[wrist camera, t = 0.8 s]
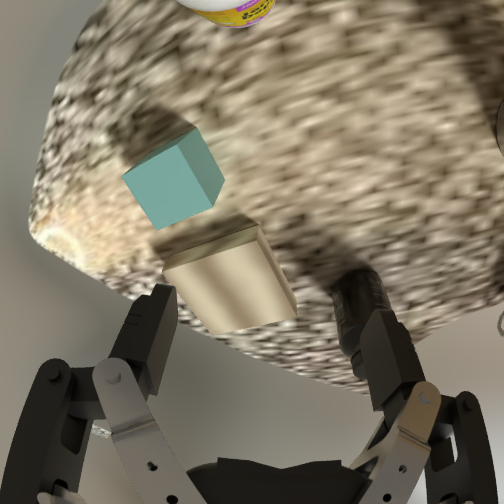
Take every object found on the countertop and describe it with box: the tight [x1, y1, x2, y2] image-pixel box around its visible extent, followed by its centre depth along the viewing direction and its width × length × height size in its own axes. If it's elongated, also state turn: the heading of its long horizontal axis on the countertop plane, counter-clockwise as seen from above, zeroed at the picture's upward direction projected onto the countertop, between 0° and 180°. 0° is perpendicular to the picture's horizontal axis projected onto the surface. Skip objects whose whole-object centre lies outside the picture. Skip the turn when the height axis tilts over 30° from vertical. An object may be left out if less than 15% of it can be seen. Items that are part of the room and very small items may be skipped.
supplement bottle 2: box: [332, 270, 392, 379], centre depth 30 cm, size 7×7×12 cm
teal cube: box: [121, 128, 225, 230], centre depth 25 cm, size 6×6×6 cm
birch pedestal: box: [162, 225, 297, 335], centre depth 35 cm, size 12×12×3 cm
